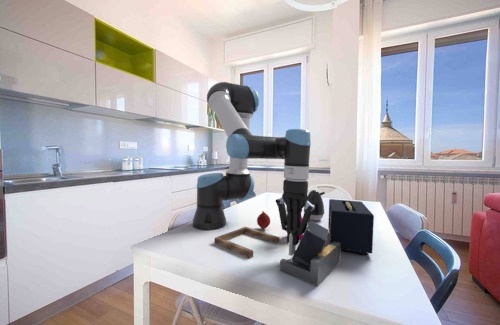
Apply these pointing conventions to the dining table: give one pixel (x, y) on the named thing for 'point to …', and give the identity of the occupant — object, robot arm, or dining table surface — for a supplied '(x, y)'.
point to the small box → (310, 244)
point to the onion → (263, 220)
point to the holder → (242, 250)
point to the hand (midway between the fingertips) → (292, 253)
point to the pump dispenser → (316, 205)
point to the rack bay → (314, 265)
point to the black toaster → (351, 225)
